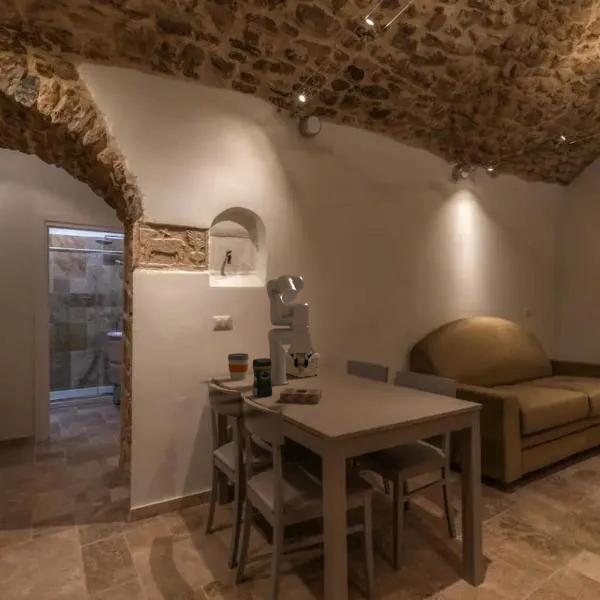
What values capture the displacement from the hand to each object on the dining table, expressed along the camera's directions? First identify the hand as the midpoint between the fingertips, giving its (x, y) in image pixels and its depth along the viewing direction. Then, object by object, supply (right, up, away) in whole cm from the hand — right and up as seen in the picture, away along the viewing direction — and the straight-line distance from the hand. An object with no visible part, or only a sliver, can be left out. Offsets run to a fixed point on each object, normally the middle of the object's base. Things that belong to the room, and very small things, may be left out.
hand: (301, 367), depth 206 cm
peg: (0, -3, 0) cm, 3 cm away
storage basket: (-1, -16, +72) cm, 74 cm away
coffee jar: (-20, -16, +10) cm, 27 cm away
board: (0, -16, 0) cm, 16 cm away
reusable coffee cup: (-38, -16, +56) cm, 70 cm away
